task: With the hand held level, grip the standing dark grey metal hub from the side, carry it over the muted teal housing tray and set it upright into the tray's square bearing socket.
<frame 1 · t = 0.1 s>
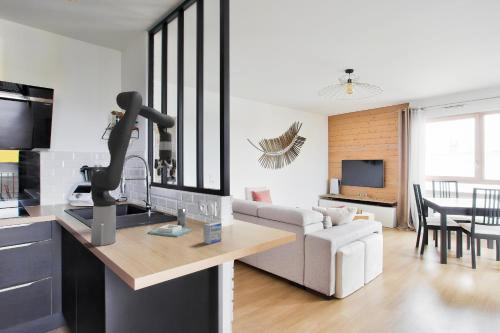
hand: (165, 176, 171), 29 cm above the countertop, tool pointing down, fingers open, 8 cm apart
medicine box: (212, 242, 132), on the countertop
metal hub: (181, 226, 165), on the countertop
housing tray: (170, 232, 149), on the countertop
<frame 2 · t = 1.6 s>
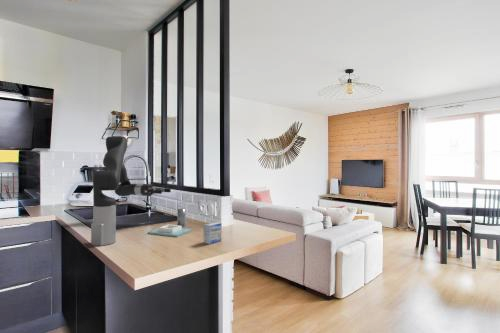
hand: (166, 191, 168), 20 cm above the countertop, tool horizontal, fingers open, 8 cm apart
nothing on the countertop moved.
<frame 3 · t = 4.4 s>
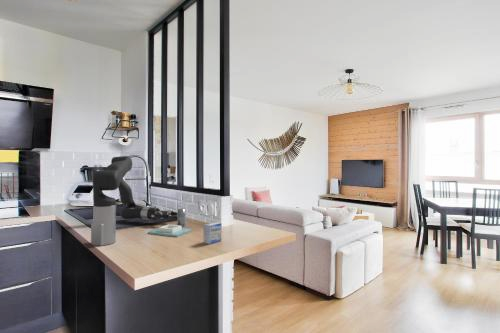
hand: (173, 215, 166), 6 cm above the countertop, tool horizontal, fingers open, 8 cm apart
nothing on the countertop moved.
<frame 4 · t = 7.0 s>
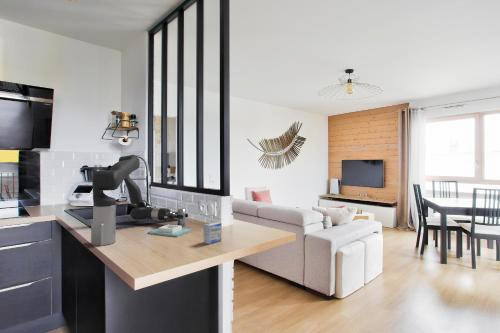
hand: (185, 216, 164), 6 cm above the countertop, tool horizontal, fingers closed on metal hub, 4 cm apart
metal hub: (181, 226, 165), on the countertop, touching gripper
everything else where it was.
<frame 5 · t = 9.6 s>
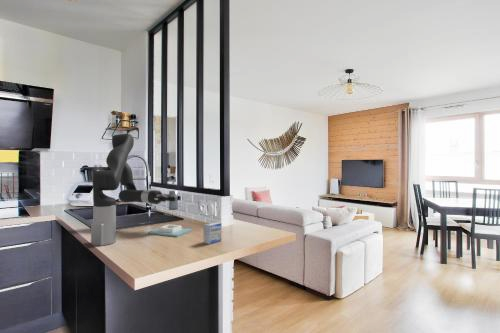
hand: (177, 198, 151), 18 cm above the countertop, tool horizontal, fingers closed on metal hub, 4 cm apart
metal hub: (173, 209, 152), point 12 cm above the countertop, touching gripper
everything else where it was.
when the fingers open (8 cm above the countertop, at t = 12.6 s): metal hub drops 1 cm, resting on housing tray.
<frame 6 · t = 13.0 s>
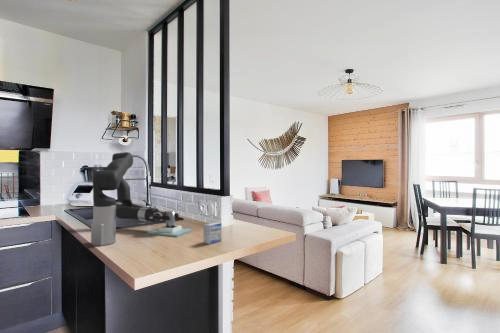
hand: (173, 216, 149), 9 cm above the countertop, tool horizontal, fingers open, 7 cm apart
metal hub: (170, 230, 150), point 1 cm above the countertop, touching housing tray
everything else where it was.
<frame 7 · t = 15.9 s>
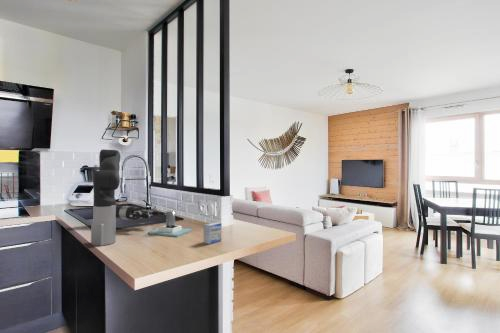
hand: (153, 215, 153), 8 cm above the countertop, tool horizontal, fingers open, 8 cm apart
nothing on the countertop moved.
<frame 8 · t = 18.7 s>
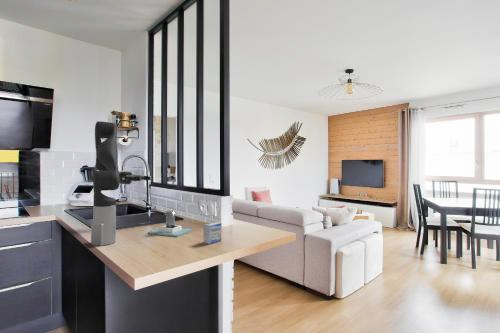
hand: (145, 178, 160), 28 cm above the countertop, tool horizontal, fingers open, 8 cm apart
nothing on the countertop moved.
at the end: metal hub 0.1 cm off-centre on the housing tray, point 1.1 cm above the housing tray's base; metal hub tilted 2°; the gripper is holding nothing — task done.
